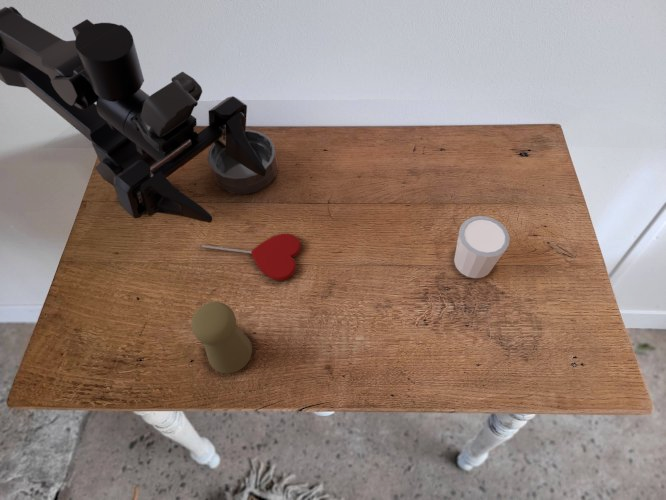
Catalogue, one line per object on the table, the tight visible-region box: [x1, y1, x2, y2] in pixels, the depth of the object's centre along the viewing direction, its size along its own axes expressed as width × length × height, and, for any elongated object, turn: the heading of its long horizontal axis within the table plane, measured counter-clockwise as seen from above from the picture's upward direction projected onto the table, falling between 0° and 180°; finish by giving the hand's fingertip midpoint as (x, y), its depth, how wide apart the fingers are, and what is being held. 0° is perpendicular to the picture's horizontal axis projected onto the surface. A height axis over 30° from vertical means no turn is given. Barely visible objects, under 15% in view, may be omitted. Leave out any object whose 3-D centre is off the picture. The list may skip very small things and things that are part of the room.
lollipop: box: [201, 233, 302, 281], centre depth 73 cm, size 8×1×15 cm
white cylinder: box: [453, 215, 511, 279], centre depth 69 cm, size 7×7×7 cm
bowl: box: [206, 129, 279, 195], centre depth 81 cm, size 11×11×4 cm
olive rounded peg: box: [190, 301, 253, 375], centre depth 61 cm, size 6×6×11 cm
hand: (239, 195), depth 57 cm, fingers open, 9 cm apart
